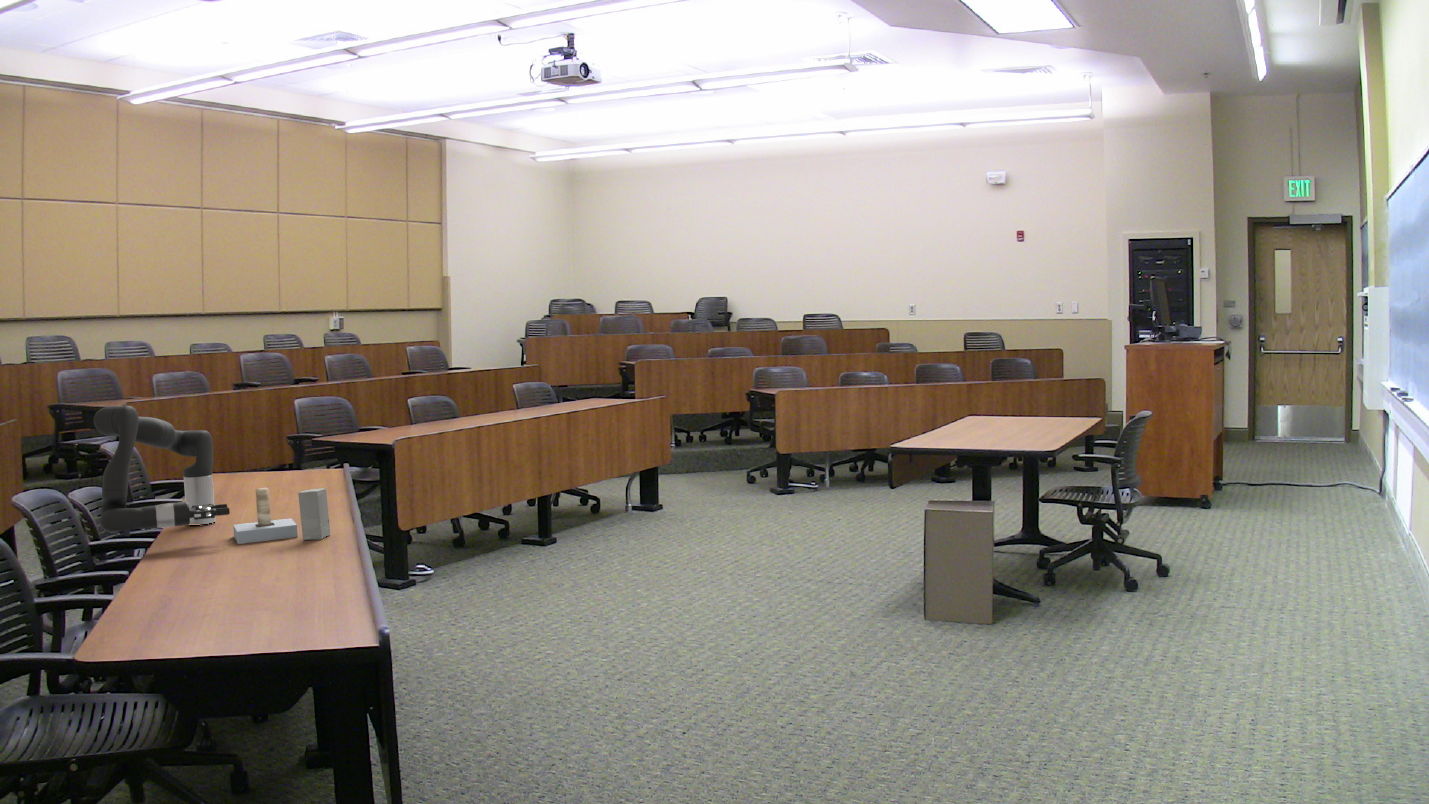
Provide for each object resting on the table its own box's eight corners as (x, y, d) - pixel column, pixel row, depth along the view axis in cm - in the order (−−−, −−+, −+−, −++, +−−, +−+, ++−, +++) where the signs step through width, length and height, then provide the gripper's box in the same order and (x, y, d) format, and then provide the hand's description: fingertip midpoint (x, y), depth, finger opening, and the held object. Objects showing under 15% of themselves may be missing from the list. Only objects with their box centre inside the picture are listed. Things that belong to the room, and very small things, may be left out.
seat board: (234, 536, 357) (233, 524, 356) (291, 529, 365) (291, 518, 365) (237, 544, 344) (237, 531, 344) (297, 536, 353) (296, 524, 353)
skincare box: (321, 540, 347) (318, 491, 345) (299, 540, 347) (296, 492, 345) (331, 534, 355) (328, 487, 354) (310, 535, 355) (307, 487, 354)
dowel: (258, 536, 356) (254, 488, 354) (271, 535, 358) (268, 487, 356) (259, 538, 352) (256, 490, 351) (272, 537, 354) (269, 488, 353)
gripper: (172, 506, 335) (229, 500, 342) (170, 500, 347) (225, 494, 355) (174, 530, 335) (231, 523, 343) (172, 523, 348) (227, 517, 355)
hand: (228, 509), depth 349 cm, fingers open, 8 cm apart
